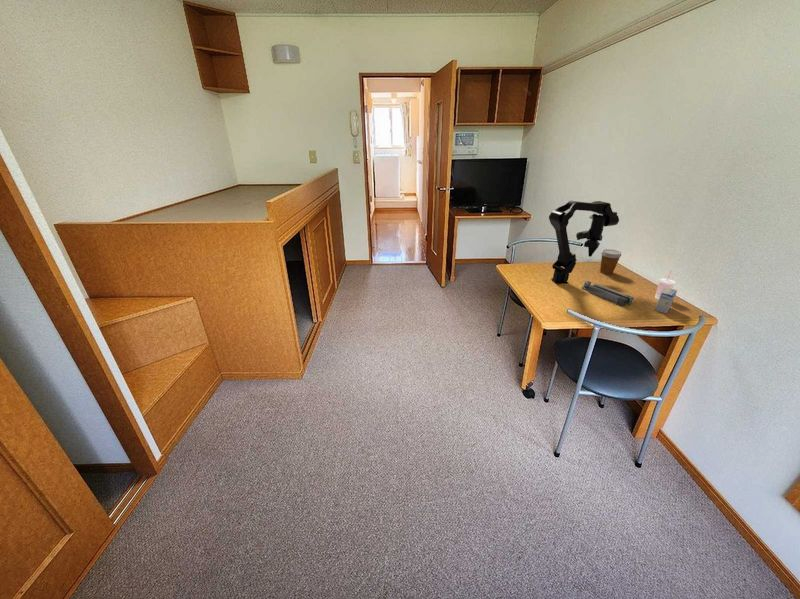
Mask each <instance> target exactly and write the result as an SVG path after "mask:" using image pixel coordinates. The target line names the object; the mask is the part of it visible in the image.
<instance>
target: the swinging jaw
mask: <svg viewBox="0 0 800 599" xmlns="http://www.w3.org/2000/svg"><path fill="white" fill-rule="evenodd" d="M592 285H593V286H595V287H598V288H600V289H603V290H605V291H608V292H610V293H613V294H615V295H618V296H620V297H625V298H627V299H628V302H627V305H630V304H632V303H633V301H634V298H635V297H634V296H633V295H632V296H631V295H630V294H626V293H623V292H620V291H617V290H615V289H612V288H609V287H607V286H604V285H602V284H598V283H594V284H592Z"/></svg>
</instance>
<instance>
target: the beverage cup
mask: <svg viewBox="0 0 800 599" xmlns="http://www.w3.org/2000/svg"><path fill="white" fill-rule="evenodd" d="M668 273H669V274H668V275H667V278H665V277H664V278H662V277H661V278H659V279H658V285H657V287H656V292H655V296H654V298H655V299H657V300H659V298H660V295H661V293H662V292H663V290H664V289H665V288H670V289H673V287H674V285H675V284H676V281H675V280H673V279H670V276H671V273H672V270H670V271H669V272H668Z"/></svg>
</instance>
